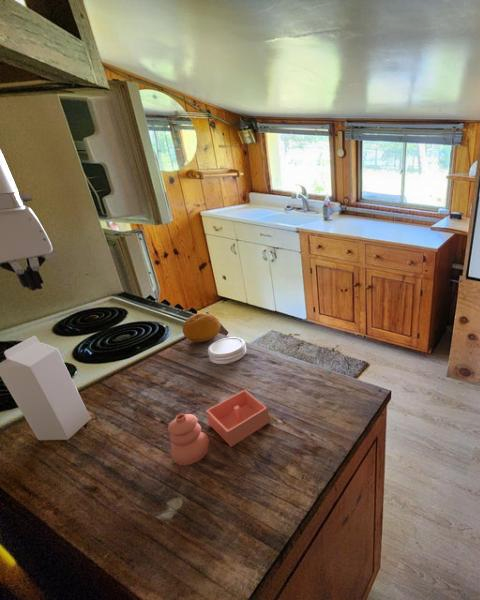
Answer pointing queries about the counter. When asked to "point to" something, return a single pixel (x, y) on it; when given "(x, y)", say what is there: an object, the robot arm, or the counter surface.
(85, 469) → the counter surface
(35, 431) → the milk
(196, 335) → the fruit
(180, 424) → the pottery
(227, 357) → the white round flat stack
